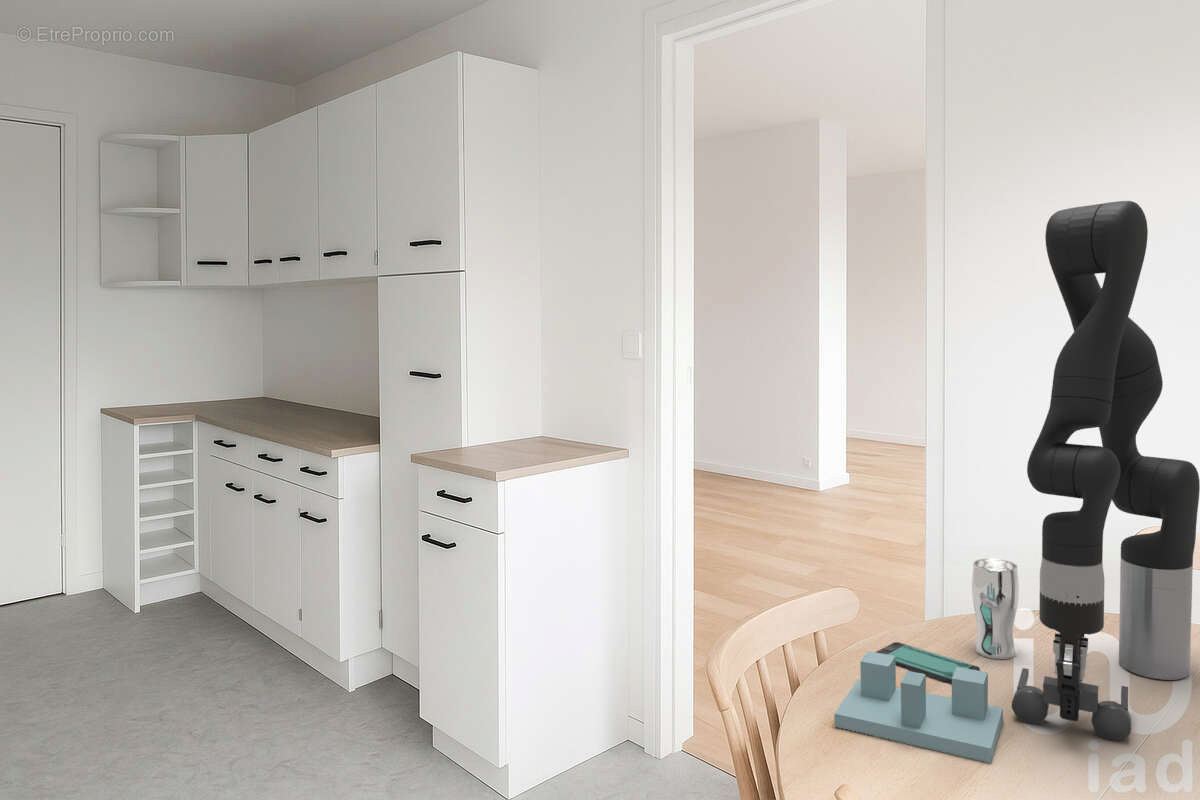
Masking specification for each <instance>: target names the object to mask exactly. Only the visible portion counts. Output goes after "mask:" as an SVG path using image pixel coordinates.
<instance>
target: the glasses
mask: <svg viewBox="0 0 1200 800" xmlns="http://www.w3.org/2000/svg"><path fill="white" fill-rule="evenodd" d="M1029 670H1030V669H1029V668H1025V667H1022V668H1021V672H1020V676H1019V679H1018V683H1017V685H1016V686H1017V687H1016V689H1015V692H1014V694H1013V698H1012V700H1011V701H1012V702H1011V708H1012V711H1013V713H1014V715H1015V716H1016V717H1017V718H1018V719H1019V720H1021V721H1022V722H1024V723H1026V724H1030V725H1035V724H1040V723H1042V722H1044V721H1045V720H1046V718H1047V716H1048V712H1049V708H1050V705H1053V706H1057V707H1058V706H1059V707H1060V693H1058V690H1057V686H1058V681H1057V677H1053V676H1046V675H1044V678H1043V682H1042V690H1041V689H1040V688H1039V687H1036V686H1033V685H1027V684H1028V680H1029V678H1030V677H1029V674H1030V673H1029ZM1080 689H1081V694H1080V696H1079V711H1083V712H1089V713H1092V714H1091V715H1092V716H1091V724H1092V725H1091V726H1092V727H1093V729H1094V731H1095V732H1096V734H1097V735H1098V736H1100V737H1101V738H1103V739H1105V740H1107V741H1110V742H1120V741H1121V742H1122V741H1124V740H1125V739H1127V738H1128V737H1129V736H1130V735H1131V732H1132V718H1131V714H1130V712H1129V686H1125V685H1121V688H1120V689H1121V691H1120V692H1121V693H1120V703H1119V702H1117V701H1113V700H1105V701H1099V685H1096V684H1090V683H1085V682H1081V683H1080Z"/></svg>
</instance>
